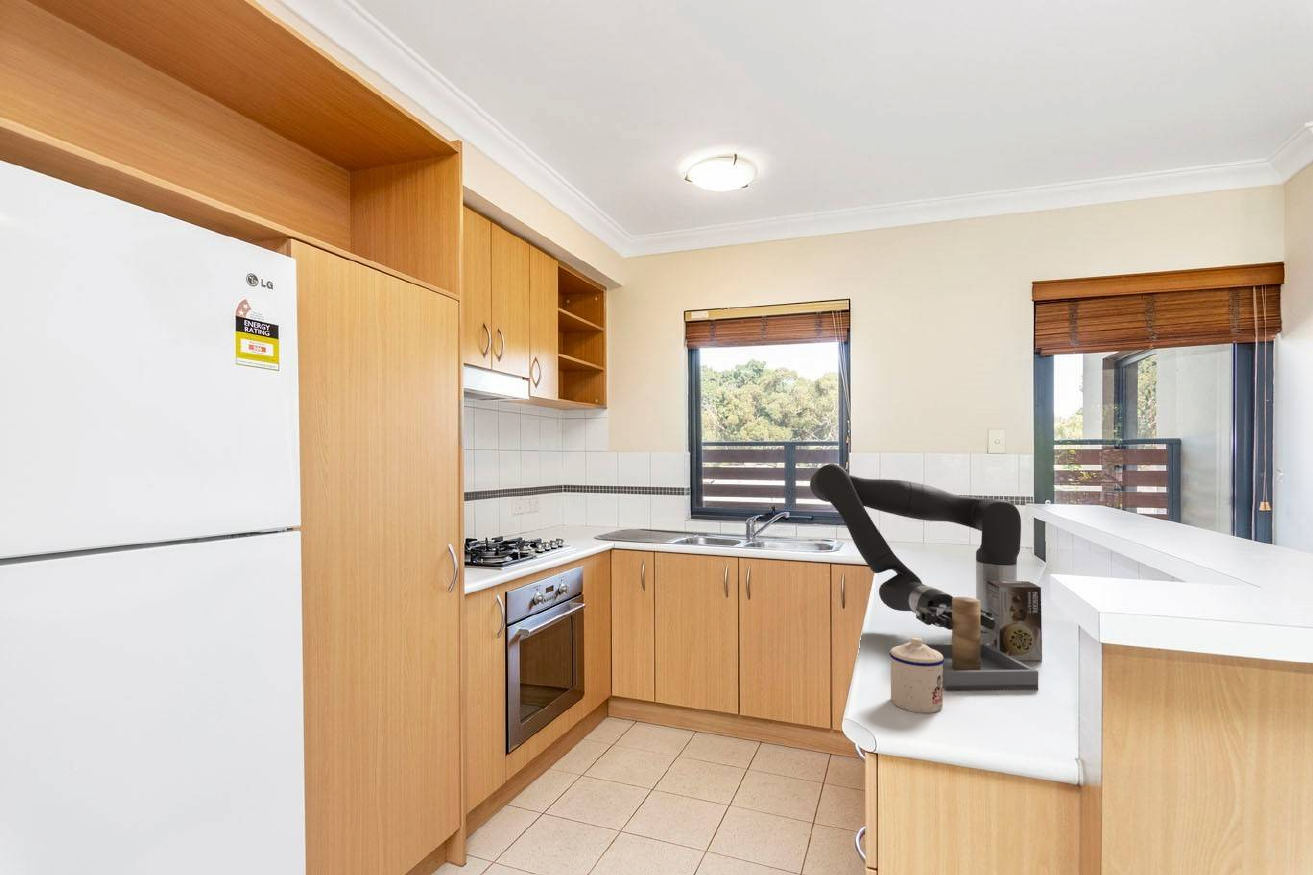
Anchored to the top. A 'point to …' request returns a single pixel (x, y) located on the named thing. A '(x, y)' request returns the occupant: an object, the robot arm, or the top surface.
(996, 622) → the coffee box
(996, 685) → the bin
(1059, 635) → the top surface
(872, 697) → the top surface
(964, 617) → the oak cylinder
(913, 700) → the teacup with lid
